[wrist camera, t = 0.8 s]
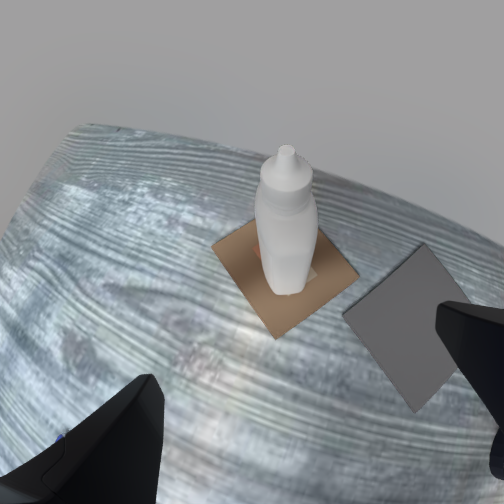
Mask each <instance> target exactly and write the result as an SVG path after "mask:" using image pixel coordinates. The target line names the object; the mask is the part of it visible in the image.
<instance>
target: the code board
mask: <svg viewBox="0 0 504 504" xmlns="http://www.w3.org/2000/svg"><path fill="white" fill-rule="evenodd" d="M211 248H212V249H213V251H214V252H215V254H216V255H217V257H218V258H219V260H220V261H221V263H222V264H223V265H224V267H225V268H226V270H227V271H228V273H229V274H230V276H231V277H232V279H233V280H234V282H235V283H236V284H237V286H238V287H239V289H240V290H241V292H242V293H243V295H244V296H245V297H246V299H247V300H248V302H249V303H250V305H251V306H252V307H253V309H254V310H255V312H256V313H257V315H258V316H259V317H260V319H261V320H262V322H263V323H264V324H265V326H266V327H267V329H268V330H269V331H270V333H271V334H272V336H273V337H274V338H275V340H276V339H277V338H279V337H280V336H282V335H283V334H285V333H286V332H288V331H289V330H290V329H292V328H293V327H295V326H296V325H297V324H299V323H300V322H302V321H303V320H304V319H306V318H307V317H309V316H310V315H311V314H313V313H314V312H315V311H317V310H318V309H319V308H321V307H322V306H323V305H325V304H326V303H327V302H329V301H330V300H331V299H333V298H334V297H335V296H337V295H338V294H339V293H340V292H342V291H343V290H344V289H346V288H347V287H348V286H349V285H351V284H352V283H353V282H354V281H356V280H357V279H358V278H359V275H358V274H357V273H356V272H355V271H354V269H353V268H352V267H351V266H350V265H349V263H348V262H347V261H346V260H345V259H344V257H343V256H342V255H341V254H340V253H339V251H338V250H337V249H336V248H335V247H334V246H333V244H332V243H331V242H330V241H329V240H328V239H327V238H326V236H325V235H324V234H323V233H322V232H321V231H320V230H319V228H318V232H317V239H316V244H315V249H314V253H313V257H312V261H311V265H310V269H309V273H308V277H307V280H306V284H305V287H304V289H303V290H302V291H301V292H299V293H295V294H287V295H277V294H275V293H274V292H273V291H272V289H271V288H270V286H269V284H268V282H267V280H266V277H265V274H264V271H263V266H262V260H261V253H260V246H259V240H258V233H257V226H256V219H254V220H252V221H251V222H249V223H248V224H246V225H244V226H243V227H241V228H240V229H238V230H236V231H235V232H233V233H232V234H230V235H228V236H227V237H225V238H224V239H222V240H220V241H219V242H217V243H216V244H214V245H213V246H211Z"/></svg>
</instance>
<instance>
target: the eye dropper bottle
mask: <svg viewBox="0 0 504 504" xmlns="http://www.w3.org/2000/svg"><path fill="white" fill-rule="evenodd" d="M260 170H261V171H260V178H261V180H260V183H259V185H258V188H257V191H256V196H255V219H256V226H257V233H258V240H259V246H260V253H261V260H262V266H263V271H264V274H265V277H266V280H267V282H268V284H269V286H270V288H271V289H272V291H273V292H274V293H275V294H277V295H287V294H295V293H299V292H301V291H302V290H303V289H304V287H305V284H306V280H307V277H308V273H309V269H310V265H311V261H312V257H313V253H314V249H315V244H316V239H317V232H318V212H317V207H316V202H315V199H314V196H313V194H312V192H311V189H312V181H313V171H312V170H313V169H312V167H311V165H310V164H309V163H308V161H306V160H305V159H304V158H302V157H301V156H298V155H296V151H295V148H294V147H293V146H291V145H288V144H286V145H282V146H280V147H279V150H278V154H277V155H274V156H272V157H270V158H268V159H267V160H266V161H265V162H264V163H263V165H262V167H261V169H260Z"/></svg>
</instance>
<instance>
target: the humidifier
mask: <svg viewBox="0 0 504 504" xmlns="http://www.w3.org/2000/svg"><path fill="white" fill-rule="evenodd" d="M489 466H490V470H491V474H492V475H493V476H495V477H496V478H498V479H501V480H504V434H503V432H502V430H501V429H500V428H499V429H498V432H497V434H496V436H495V439H494V441H493V445H492V449H491V453H490V463H489Z"/></svg>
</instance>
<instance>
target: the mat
mask: <svg viewBox="0 0 504 504" xmlns="http://www.w3.org/2000/svg"><path fill="white" fill-rule="evenodd" d="M447 300H450V301H456V302H462V303H468V304H471V303H470V302H469V300H468V299H467V297H466V296H465V295H464V293H463V292H462V290H461V289H460V288H459V286H458V285H457V284H456V282H455V281H454V280H453V278H452V277H451V276H450V274H449V273H448V272H447V271H446V269H445V268H444V267H443V265H442V264H441V263H440V262H439V260H438V259H437V258H436V257H435V256H434V254H433V253H432V252H431V251H430V249H429V248H428V247H427V246H426V245H425V244H423V245H422V246H421V247H420V248H419V249H418V250H417V251H416V252H415V253H414V254H413V255H412V256H411V257H410V258H409V259H408V260H407V261H405V262H404V263H403V264H402V265H401V266H400V267H399V268H398V269H397V270H396V271H394V272H393V273H392V274H391V275H390V276H389V277H388V278H387V279H385V280H384V281H383V282H382V283H381V284H380V285H379V286H377V287H376V288H375V289H374V290H373V291H372V292H370V293H369V294H368V295H367V296H366V297H364V298H363V299H362V300H361V301H360V302H358V303H357V304H356V305H355V306H354V307H352V308H351V309H350V310H349V311H347V312H346V313H345V314H344V315H342V317H343V318H344V319H345V321H346V322H347V323H348V325H349V326H350V327H351V329H352V330H353V331H354V332H355V334H356V335H357V336H358V338H359V339H360V340H361V342H362V343H363V344H364V346H365V347H366V348H367V350H368V351H369V352H370V354H371V355H372V356H373V358H374V359H375V360H376V362H377V363H378V364H379V366H380V367H381V368H382V370H383V371H384V372H385V374H386V375H387V376H388V378H389V379H390V381H391V382H392V383H393V385H394V386H395V387H396V389H397V390H398V391H399V393H400V394H401V396H402V397H403V398H404V400H405V401H406V403H407V404H408V405H409V407H410V408H411V410H412V411H413V412H414V413H416V412H417V411H418V410H419V409H420V408H421V407H422V406H423V405H424V404H425V403H426V402H427V401H428V400H429V399H430V398H431V397H432V396H433V395H434V394H435V393H436V392H437V391H438V390H439V389H440V387H441V386H442V385H443V384H444V383H445V382H446V381H447V380H448V378H449V377H450V376H451V375H452V374H453V373H454V371H455V370H456V369H457V368H458V367H457V365H456V364H455V362H454V360H453V359H452V357H451V355H450V354H449V352H448V350H447V349H446V347H445V346H444V344H443V342H442V341H441V339H440V338H439V336H438V334H437V333H436V330H435V320H436V309H437V306H438V304H440V303H442V302H445V301H447Z"/></svg>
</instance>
